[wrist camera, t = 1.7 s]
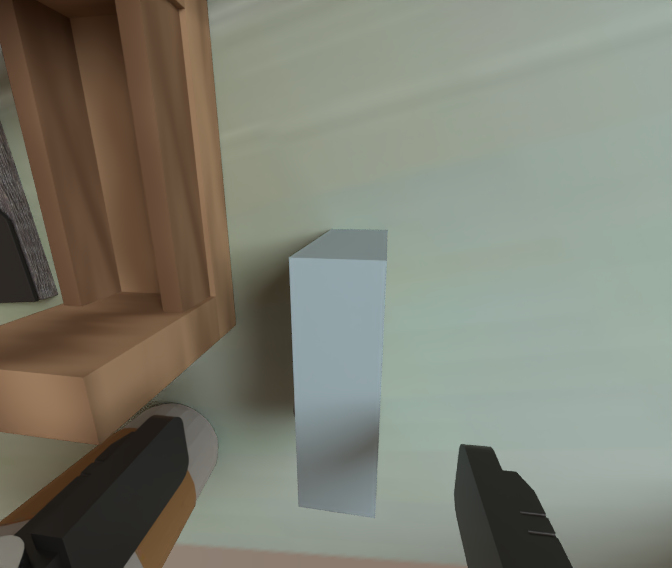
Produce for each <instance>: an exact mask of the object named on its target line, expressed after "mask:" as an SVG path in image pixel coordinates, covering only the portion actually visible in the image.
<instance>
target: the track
mask: <svg viewBox="0 0 672 568" xmlns="http://www.w3.org/2000/svg"><path fill="white" fill-rule="evenodd" d="M0 44H1V48H2V52H3V56H4V60H5V64H6V68H7V72H8V76H9V81H10V85H11V89H12V93H13V97H14V101H15V105H16V109H17V113H18V117H19V122H20V126H21V130H22V134H23V138H24V142H25V146H26V150H27V154H28V158H29V163H30V167H31V171H32V175H33V179H34V183H35V187H36V191H37V195H38V200H39V204H40V208H41V212H42V216H43V220H44V224H45V228H46V232H47V236H48V241H49V245H50V249H51V253H52V257H53V261H54V265H55V269H56V273H57V277H58V282H59V286H60V290H61V294H62V298H63V302H64V304H61V305H58V306H55V307H52V308H49V309H46V310H44V311H41V312H38V313H35V314H32V315H29V316H26V317H23V318H21V319H18V320H15V321H12V322H9V323H6V324H3V325H0V432H5V433H13V434H20V435H28V436H35V437H43V438H50V439H58V440H65V441H73V442H80V443H88V444H95V445H100V444H102V443H103V442H104V441H105V440H106V439H107V438H108V437H109V436H111V435H112V434H113V433H114V432H115V431H116V430H117V429H119V428H120V427H121V426H122V425H123V424H124V423H125V422H126V421H128V420H129V419H130V418H131V417H132V416H133V415H134V414H136V413H137V412H138V411H139V410H140V409H141V408H142V407H144V406H145V405H146V404H147V403H148V402H149V401H150V400H151V399H153V398H154V397H155V396H156V395H157V394H158V393H159V392H161V391H162V390H163V389H164V388H165V387H166V386H167V385H168V384H170V383H171V382H172V381H173V380H174V379H175V378H176V377H178V376H179V375H180V374H181V373H182V372H183V371H184V370H185V369H187V368H188V367H189V366H190V365H191V364H192V363H193V362H195V361H196V360H197V359H198V358H199V357H200V356H201V355H203V354H204V353H205V352H206V351H207V350H208V349H209V348H210V347H212V346H213V345H214V344H215V343H216V342H217V341H218V340H220V339H221V338H222V337H223V336H224V335H225V334H226V333H227V332H229V331H230V330H231V329H232V328H233V327H234V326H235V325H236V318H235V307H234V296H233V285H232V274H231V263H230V252H229V240H228V229H227V218H226V207H225V196H224V185H223V174H222V163H221V152H220V141H219V130H218V118H217V107H216V96H215V85H214V74H213V63H212V52H211V41H210V30H209V19H208V7H207V0H0Z"/></svg>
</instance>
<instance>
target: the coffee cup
mask: <svg viewBox="0 0 672 568" xmlns="http://www.w3.org/2000/svg"><path fill="white" fill-rule="evenodd" d="M153 415H164V416H175V417H180V418H181V419H182V421H183V425H184V431H185V437H186V443H187V449H188V455H189V465H188V470H187V473H186V476H185V478H184V480H183V482H182V483H181V485H180V486H179V488H178V489H177V491H176V492H175V493H174V495H173V496H172V498H171V499H170V501H169V502H168V504H167V505H166V507H165V508H164V509H163V511H162V512H161V514H160V515H159V517H158V518H157V520H156V521H155V523H154V524H153V525H152V527H151V528H150V530H149V531H148V533H147V534H146V536H145V537H144V539H143V540H142V541H141V543H140V544H139V546H138V547H137V549H136V550H135V552H134V553H133V555H132V556H131V557H130V559H129V560H128V562H127V563H126V565H125V566H124V568H162V567H163V565H164V563H165V561H166V559H167V557H168V556H169V554H170V551H171V550H172V548H173V546H174V544H175V543H176V541H177V539H178V537H179V535H180V533H181V531H182V529H183V528H184V526H185V524H186V522H187V520H188V518H189V516H190V514H191V513H192V511H193V509H194V507H195V503H196V500H197V498H198V497H199V495H200V493H201V491H202V489H203V487H204V486H205V484H206V482H207V480H208V478H209V476H210V474H211V473H212V471H213V469H214V467H215V465H216V462H217V457H218V439H217V436H216V433H215V431H214V429H213V427H212V426H211V424H210V423H209V422H208V420H207V419H205V418H204V417H203V416H202V415H201V414H200V413H198V412H197V411H195V410H193V409H192V408H190V407H187V406H184V405H181V404H174V403H167V404H161V405H159V406H155V407H151V408H149V409H147V410H145V411H143V412H142V413H141V414H140V415H138V416H137V417H136V418H135V419H133V420H132V421H131V422H129V423H128V424H127V425H126V426H124V427H123V428H122V429H121V430H119V431H118V432H116V433H114V434H112V435H111V436H110V437H108V438H107V439H106V440H105V441H104V442H103V443H102V444H100V445H98V446H97V447H95V448H94V449H93V450H92V451H90V452H89V453H88V454H86V455H85V456H84V457H83V458H81V459H80V460H79V461H77V462H76V463H75V464H74V465H72V466H71V467H70V468H69V469H67V470H66V471H65V472H63V473H62V474H61V475H60V476H58V477H57V478H56V479H54V480H53V481H52V482H51V483H49V484H48V485H47V486H45V487H44V488H43V489H42V490H40V491H39V492H38V493H36V494H35V495H34V496H33V497H31V498H30V499H29V500H27V501H26V502H25V503H24V504H22V505H21V506H20V507H18V508H17V509H16V510H15V511H13V512H12V513H11V514H9V515H8V516H7V517H6V518H4V519H3V520H2V521H1V522H0V537H1V536H8V535H12V536H13V535H14V534H15V533H17V532H18V531H19V530H20V529H21V528H22V527H23V526H24V525H25V524H26V523H27V522H29V521H30V520H31V519H32V518H33V517H34V516H35V515H36V514H37V513H38V512H39V511H40V510H41V509H42V508H44V507H45V506H46V505H47V504H48V503H49V502H50V501H51V500H52V499H53V498H54V497H55V496H56V495H57V494H58V493H60V492H61V491H62V490H63V489H64V488H65V487H66V486H67V485H68V484H69V483H70V482H71V481H72V480H73V479H75V478H76V477H77V476H80V474H81V472H82V471H83V470H84V469H85V468H86V467H87V466H88V465H90V464H91V463H94V461H95V459H96V458H97V457H98V456H99V455H100V454H101V453H102V452H103V451H104V450H106V449H107V448H108V447H109V446H110V445H111V444H112V443H114V442H116V441H117V440H119V439H120V438H122V437H124V436H125V435H127V434H129V433H130V432H135V431H136V430H137V429H138V428H139V427H140V426H141V425H142V424H143V423H144V422H145V421H146V420H147V419H148V418H150V417H151V416H153Z"/></svg>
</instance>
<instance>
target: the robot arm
mask: <svg viewBox="0 0 672 568" xmlns="http://www.w3.org/2000/svg"><path fill="white" fill-rule="evenodd" d="M188 465H189V455H188V449H187V443H186V437H185V431H184V425H183V421H182V419H181V418H180V417H175V416H164V415H153V416H151V417H150V418H148V419H147V420H146V421H145V422H144V423H143V424H142V425H141V426H140V427H139V428H138V429H137V430H136V431H135V432H130V433H129V434H127V435H125V436H124V437H122V438H120V439H119V440H117V441H116V442H114V443H112V444H111V445H110V446H109V447H108V448H107V449H106V450H104V451H103V452H102V453H101V454H100V455H99V456H98V457H97V458H96V459H95V461H94V463H91V464H90V465H88V466H87V467H86V468H85V469H84V470H83V471H82V472H81V474H80V476H77V477H76V478H75V479H73V480H72V481H71V482H70V483H69V484H68V485H67V486H66V487H65V488H64V489H63V490H62V491H61V492H60V493H58V494H57V495H56V496H55V497H54V498H53V499H52V500H51V501H50V502H49V503H48V504H47V505H46V506H45V507H44V508H42V509H41V510H40V511H39V512H38V513H37V514H36V515H35V516H34V517H33V518H32V519H31V520H30V521H29V522H27V523H26V524H25V525H24V526H23V527H22V528H21V529H20V530H19V531H18V532H17V533H15V534H14V535H13V536H12V535H8V536H1V537H0V568H124V566H125V565H126V563H127V562H128V560H129V559H130V557H131V556H132V555H133V553H134V552H135V550H136V549H137V547H138V546H139V544H140V543H141V541H142V540H143V539H144V537H145V536H146V534H147V533H148V531H149V530H150V528H151V527H152V525H153V524H154V523H155V521H156V520H157V518H158V517H159V515H160V514H161V512H162V511H163V509H164V508H165V507H166V505H167V504H168V502H169V501H170V499H171V498H172V496H173V495H174V493H175V492H176V491H177V489H178V488H179V486H180V485H181V483H182V482H183V480H184V478H185V476H186V473H187V470H188ZM454 500H455V511H456V517H457V521H458V526H459V530H460V535H461V539H462V543H463V548H464V552H465V557H466V561H467V566H468V568H573V567H572V565H571V563H570V561H569V559H568V557H567V555H566V553H565V551H564V549H563V547H562V545H561V543H560V541H559V539H558V538H556V536H555V531H554V529H553V527H552V525H551V523H550V521H549V519H548V518H546V515H545V514H546V513H545V511H544V509H543V507H542V505H541V503H540V501H539V500H538V498H537V496H536V494H535V492H534V490H533V489H532V488H531V487H530V486H529V485H528V484H527V483H526V482H525V481H524V480H523V479H522V478H521V476H520V475H519V474H518V473H517V472H513V471H504V470H502V468H501V466H500V464H499V461H498V459H497V457H496V454H495V452H494V450H493V449H492V448H491V447H487V446H476V445H465V444H461V445H460V448H459V455H458V463H457V472H456V480H455V489H454Z"/></svg>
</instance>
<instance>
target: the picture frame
mask: <svg viewBox="0 0 672 568" xmlns="http://www.w3.org/2000/svg"><path fill="white" fill-rule="evenodd" d="M55 295H58V292H57V289H56V286H55V283H54V280H53V277H52V274H51V271H50V268H49V265H48V262H47V259H46V256H45V253H44V250H43V247H42V244H41V241H40V238H39V235H38V232H37V229H36V226H35V223H34V220H33V217H32V214H31V211H30V208H29V205H28V202H27V199H26V196H25V193H24V190H23V187H22V184H21V181H20V178H19V175H18V172H17V169H16V166H15V163H14V160H13V157H12V154H11V151H10V148H9V145H8V142H7V139H6V136H5V133H4V130H3V127H2V124H1V121H0V303H9V302H36V301H39V300H42V299H46V298H49V297H52V296H55Z"/></svg>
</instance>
